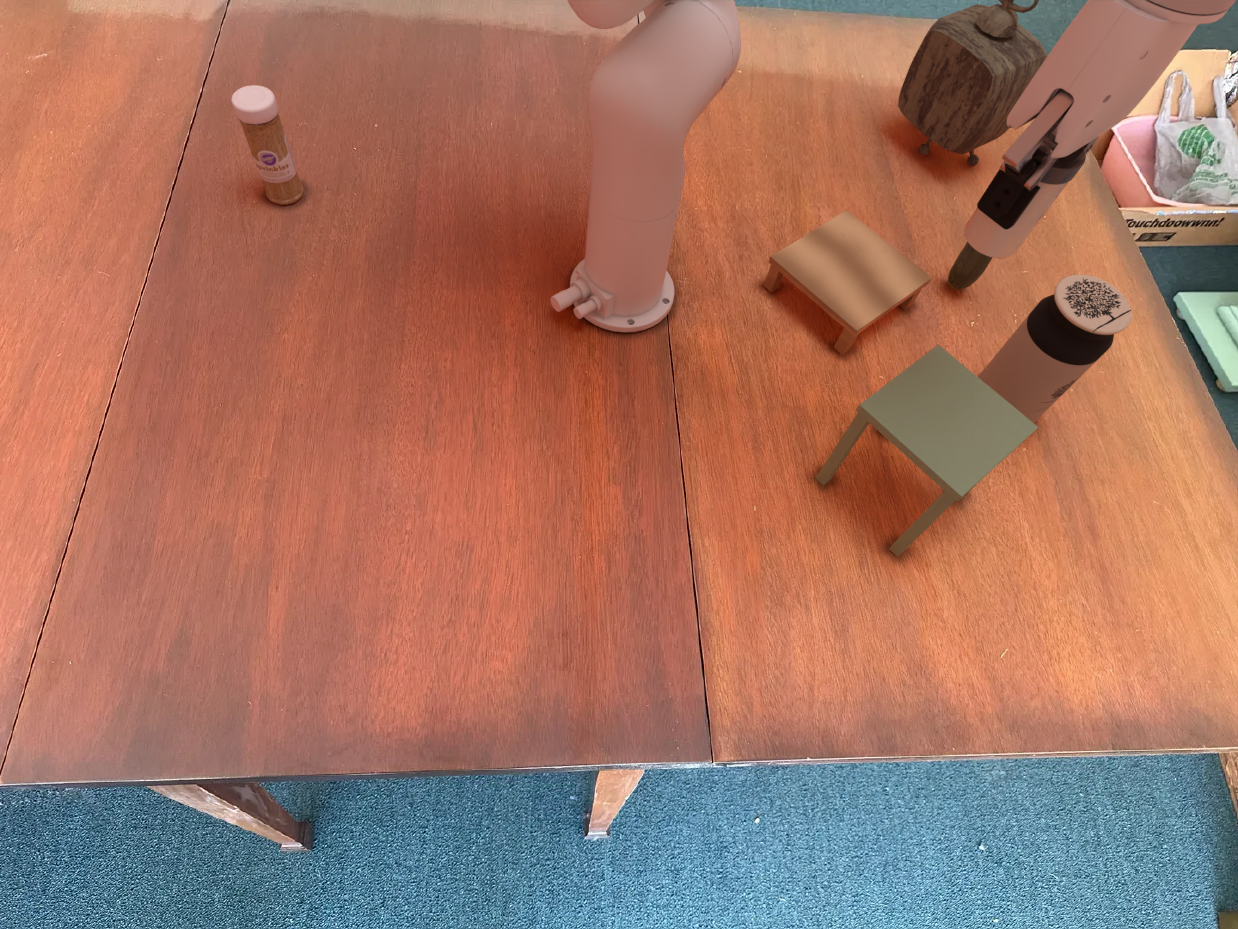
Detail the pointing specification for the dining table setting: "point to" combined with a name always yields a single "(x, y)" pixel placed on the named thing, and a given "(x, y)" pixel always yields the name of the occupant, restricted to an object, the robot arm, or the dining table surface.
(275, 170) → the sprinkles bottle
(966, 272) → the vegetable
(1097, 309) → the travel mug
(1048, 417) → the dining table surface
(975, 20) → the tabletop clock
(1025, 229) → the spice jar
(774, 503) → the dining table surface
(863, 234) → the low shelf
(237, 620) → the dining table surface
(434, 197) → the dining table surface
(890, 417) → the tall stand
